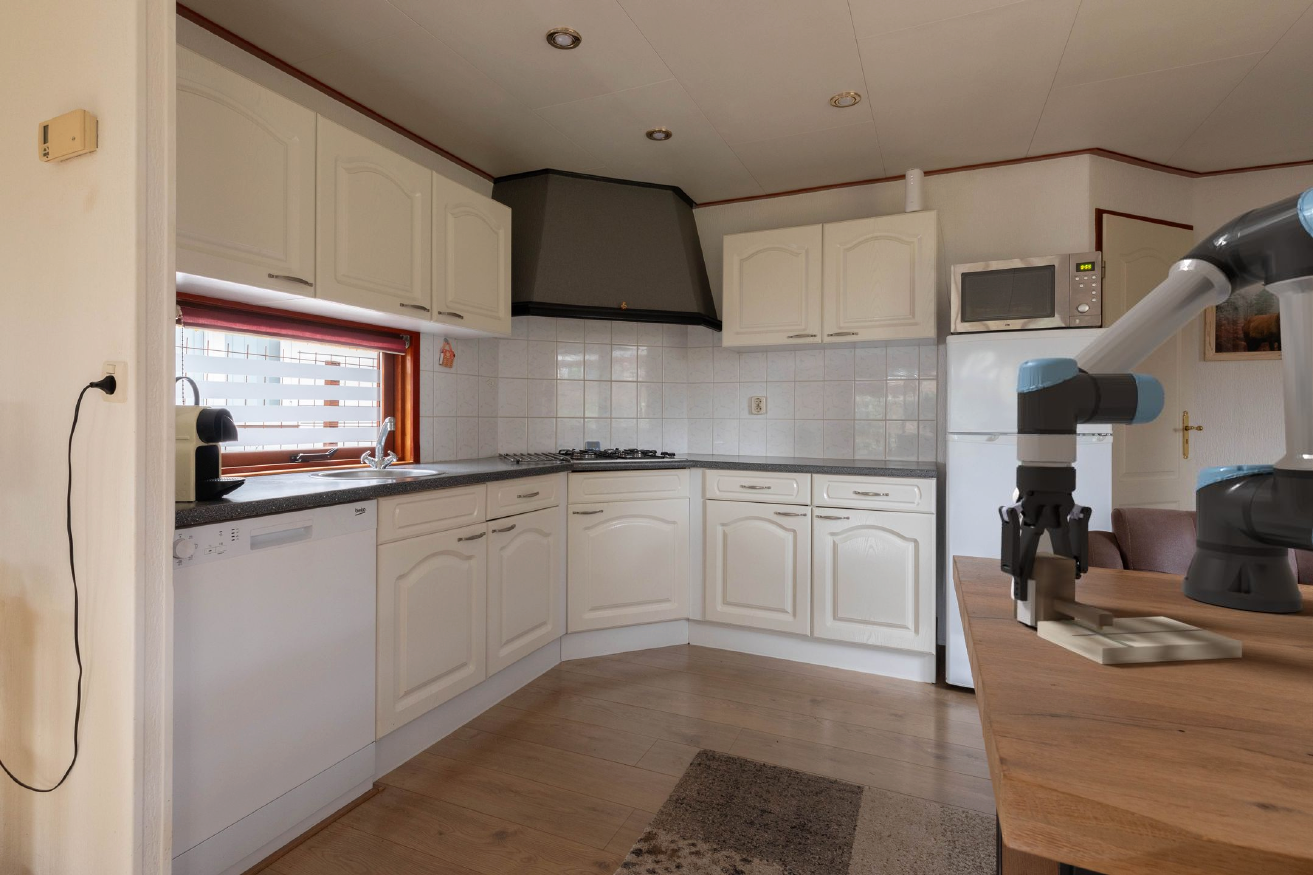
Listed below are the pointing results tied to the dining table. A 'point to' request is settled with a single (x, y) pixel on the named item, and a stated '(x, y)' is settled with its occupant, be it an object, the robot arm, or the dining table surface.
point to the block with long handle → (1060, 593)
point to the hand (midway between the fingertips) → (1043, 621)
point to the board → (1139, 640)
